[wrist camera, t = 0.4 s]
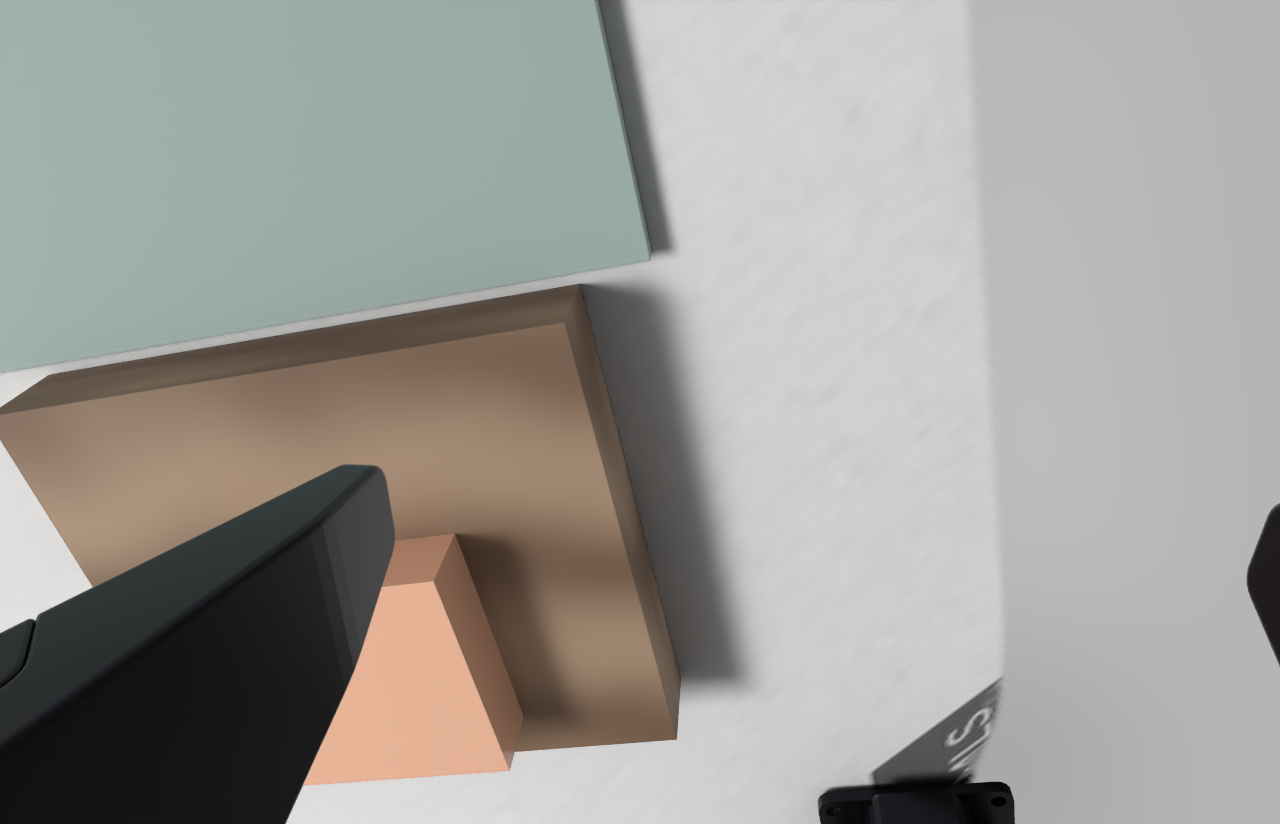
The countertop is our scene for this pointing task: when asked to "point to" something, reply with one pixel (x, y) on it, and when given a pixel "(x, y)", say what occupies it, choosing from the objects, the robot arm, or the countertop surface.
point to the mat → (295, 162)
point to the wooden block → (393, 479)
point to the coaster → (423, 679)
